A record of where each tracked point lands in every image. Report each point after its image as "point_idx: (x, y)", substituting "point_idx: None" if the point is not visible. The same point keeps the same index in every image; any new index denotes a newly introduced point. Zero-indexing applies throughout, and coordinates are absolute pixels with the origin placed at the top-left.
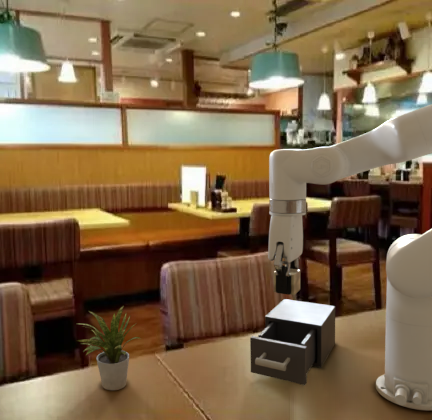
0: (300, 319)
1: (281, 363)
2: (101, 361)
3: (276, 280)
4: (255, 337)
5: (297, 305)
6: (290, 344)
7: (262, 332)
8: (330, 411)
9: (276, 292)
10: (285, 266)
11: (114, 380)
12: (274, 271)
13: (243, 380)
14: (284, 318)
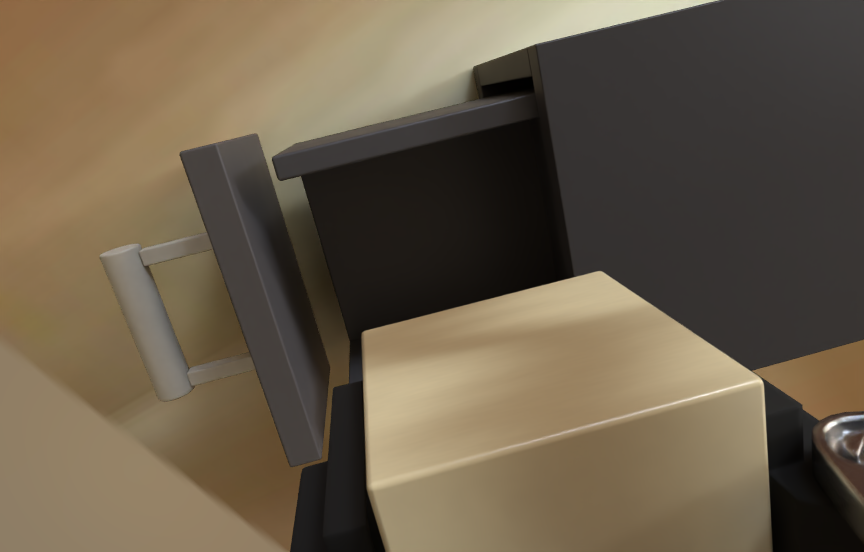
0: (626, 271)
1: (162, 384)
2: None
3: (332, 479)
4: (207, 179)
5: None
6: (278, 390)
7: (332, 153)
8: (242, 491)
9: (336, 389)
10: (824, 460)
11: None
12: (419, 474)
13: (178, 133)
14: (582, 181)
